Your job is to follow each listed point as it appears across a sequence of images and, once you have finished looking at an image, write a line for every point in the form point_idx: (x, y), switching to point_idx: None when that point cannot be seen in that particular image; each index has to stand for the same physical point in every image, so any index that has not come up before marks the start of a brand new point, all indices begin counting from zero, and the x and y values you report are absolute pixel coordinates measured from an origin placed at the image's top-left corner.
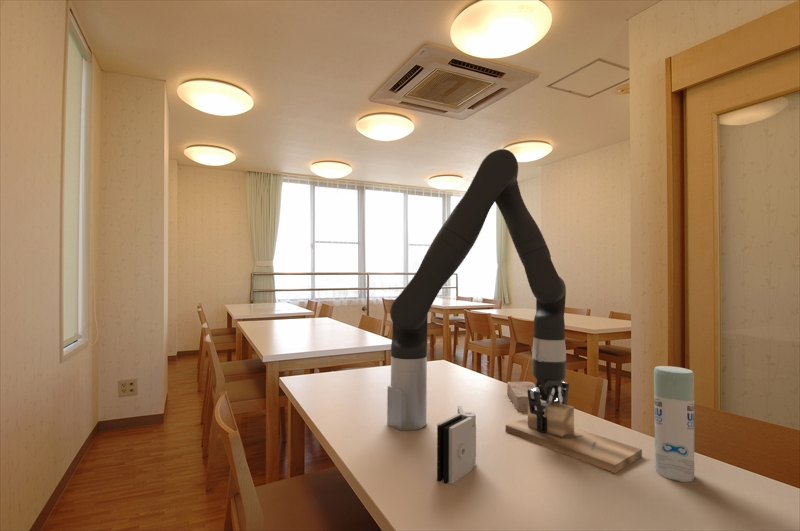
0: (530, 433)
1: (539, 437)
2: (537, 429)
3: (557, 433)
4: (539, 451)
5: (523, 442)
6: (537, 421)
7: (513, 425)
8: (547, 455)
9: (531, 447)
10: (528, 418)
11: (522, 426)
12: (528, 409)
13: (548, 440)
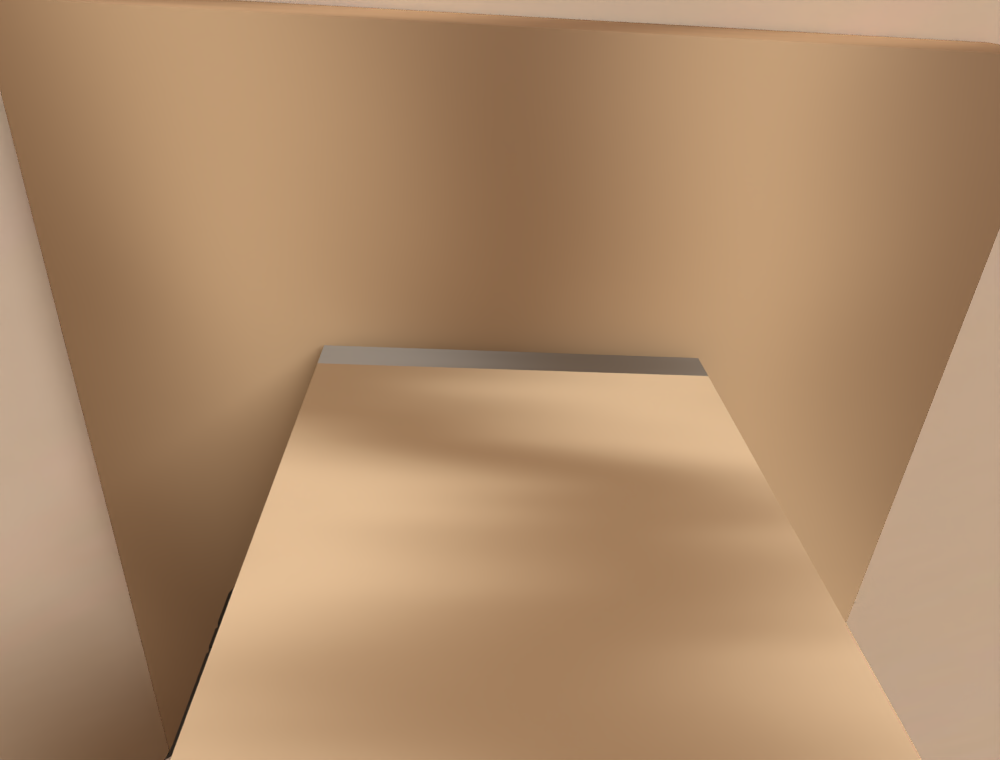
0: (135, 503)
1: (141, 627)
2: None
3: None
4: (18, 643)
5: (18, 433)
6: None
7: (130, 131)
8: (27, 715)
9: (7, 556)
10: (298, 438)
11: (255, 274)
12: (243, 583)
13: (168, 715)
